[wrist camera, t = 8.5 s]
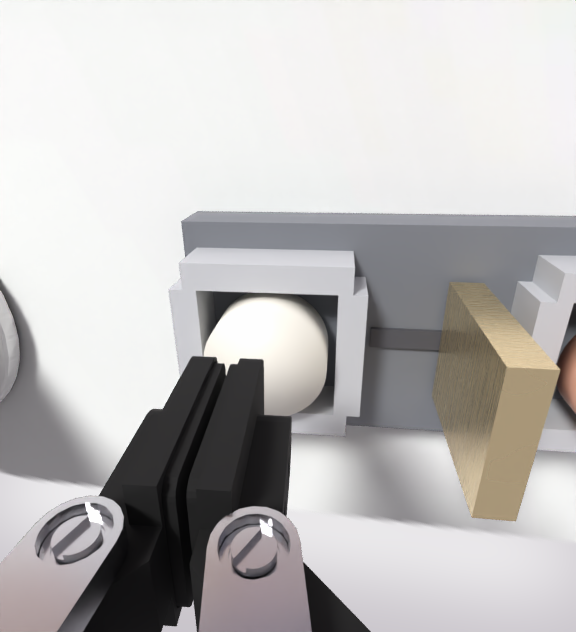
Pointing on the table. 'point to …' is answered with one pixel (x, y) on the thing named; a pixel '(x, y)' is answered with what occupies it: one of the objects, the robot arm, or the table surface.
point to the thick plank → (490, 399)
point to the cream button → (275, 347)
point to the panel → (381, 298)
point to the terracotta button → (568, 374)
